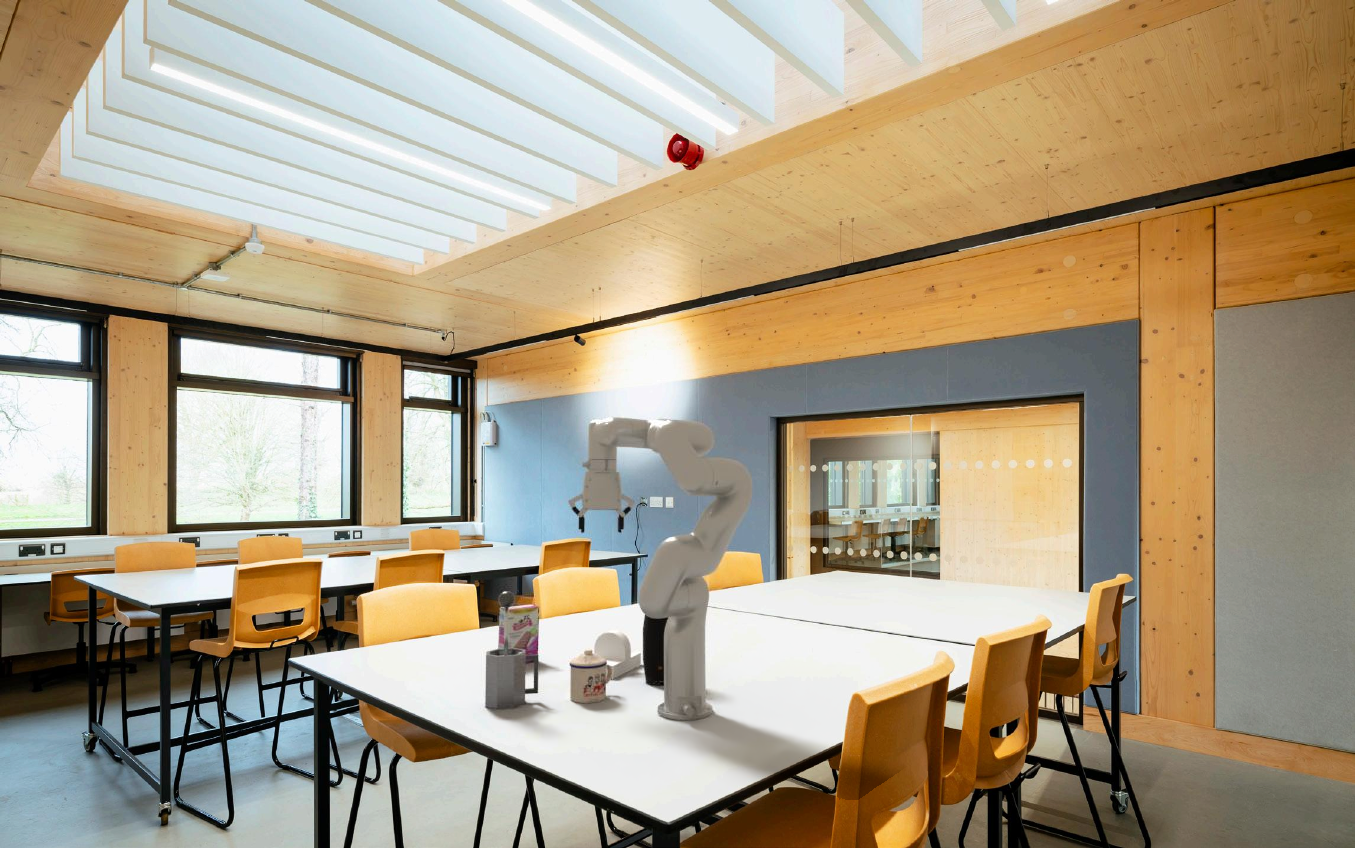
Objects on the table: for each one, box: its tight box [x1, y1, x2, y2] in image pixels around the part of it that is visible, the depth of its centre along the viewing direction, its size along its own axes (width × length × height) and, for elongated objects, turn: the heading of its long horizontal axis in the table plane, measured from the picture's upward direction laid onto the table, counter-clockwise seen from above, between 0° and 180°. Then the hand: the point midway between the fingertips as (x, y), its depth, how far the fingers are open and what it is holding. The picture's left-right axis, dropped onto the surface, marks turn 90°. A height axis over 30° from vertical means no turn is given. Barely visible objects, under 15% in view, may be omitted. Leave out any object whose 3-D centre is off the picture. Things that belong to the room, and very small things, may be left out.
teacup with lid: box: [569, 648, 612, 704], centre depth 184 cm, size 12×9×12 cm
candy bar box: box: [497, 604, 540, 663], centre depth 222 cm, size 11×5×16 cm, turn 130°
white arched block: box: [593, 629, 642, 679], centre depth 212 cm, size 18×10×11 cm, turn 158°
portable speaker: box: [642, 614, 669, 686], centre depth 198 cm, size 9×9×20 cm
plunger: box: [497, 590, 516, 656], centre depth 180 cm, size 6×6×16 cm
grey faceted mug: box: [484, 648, 539, 710], centre depth 179 cm, size 9×12×12 cm
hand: (601, 532), depth 194 cm, fingers open, 9 cm apart
